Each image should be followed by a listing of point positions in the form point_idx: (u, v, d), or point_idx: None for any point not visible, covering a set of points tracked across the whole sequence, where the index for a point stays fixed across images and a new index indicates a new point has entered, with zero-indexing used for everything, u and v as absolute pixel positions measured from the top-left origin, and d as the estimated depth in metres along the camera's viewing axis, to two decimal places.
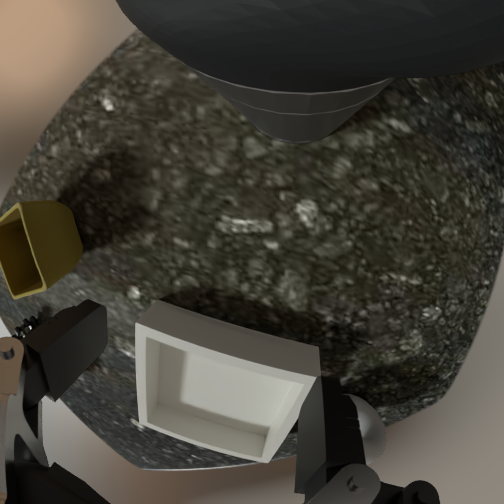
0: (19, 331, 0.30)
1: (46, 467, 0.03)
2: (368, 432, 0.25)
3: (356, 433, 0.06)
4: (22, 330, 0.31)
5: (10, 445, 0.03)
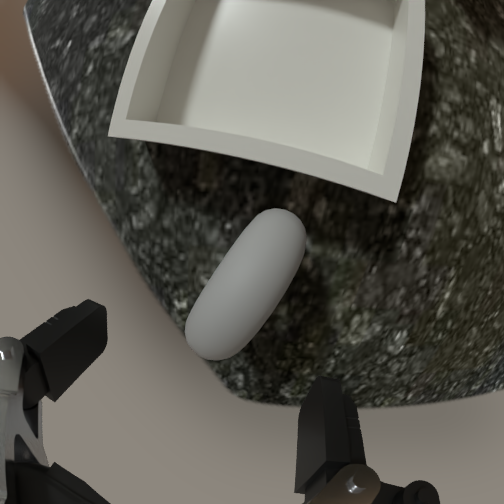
0: None
1: (46, 467, 0.03)
2: None
3: (356, 433, 0.06)
4: None
5: (10, 445, 0.03)
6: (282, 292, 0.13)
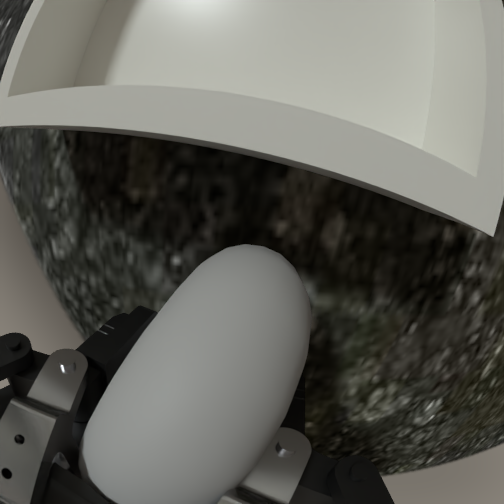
0: None
1: (83, 492, 0.03)
2: None
3: (299, 403, 0.07)
4: None
5: (47, 465, 0.03)
6: None
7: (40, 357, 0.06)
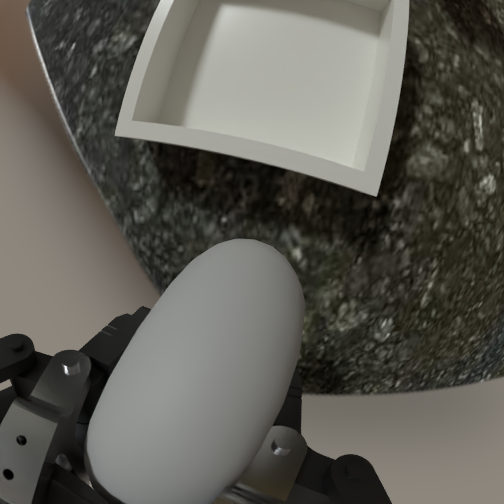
0: None
1: (84, 494, 0.03)
2: None
3: (296, 402, 0.07)
4: None
5: (49, 466, 0.03)
6: (245, 466, 0.04)
7: (43, 358, 0.06)
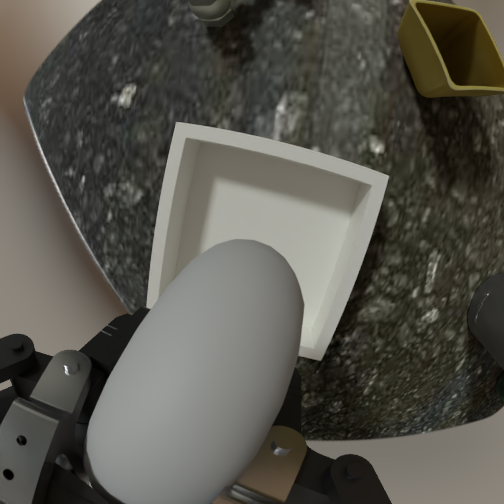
0: None
1: (85, 494, 0.03)
2: None
3: (295, 402, 0.07)
4: None
5: (49, 466, 0.03)
6: (245, 467, 0.04)
7: (43, 358, 0.06)
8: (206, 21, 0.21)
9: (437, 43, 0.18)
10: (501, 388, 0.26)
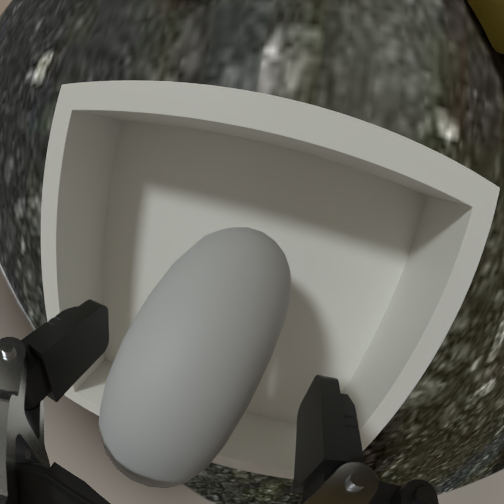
0: None
1: (47, 468, 0.03)
2: None
3: (354, 432, 0.06)
4: None
5: (11, 445, 0.03)
6: (237, 415, 0.05)
7: None
8: None
9: None
10: None
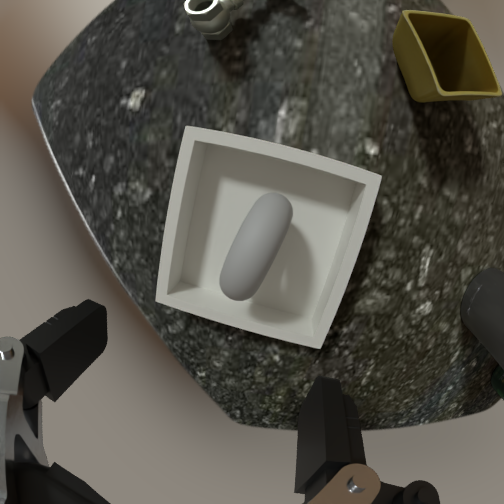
0: None
1: (46, 467, 0.03)
2: None
3: (356, 433, 0.06)
4: None
5: (10, 445, 0.03)
6: (280, 240, 0.20)
7: None
8: (206, 34, 0.23)
9: (430, 49, 0.20)
10: (496, 381, 0.28)
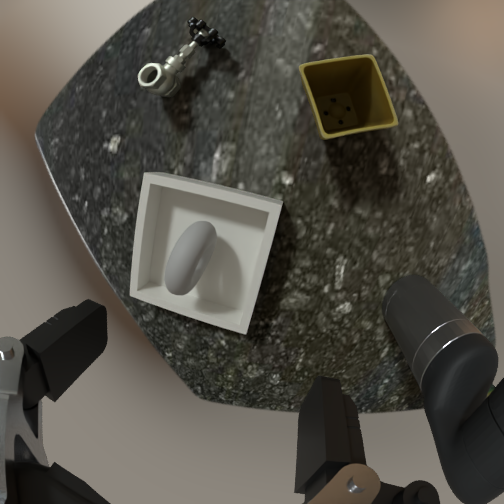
0: (212, 36, 0.27)
1: (46, 467, 0.03)
2: None
3: (356, 433, 0.06)
4: (212, 36, 0.28)
5: (10, 445, 0.03)
6: (198, 255, 0.30)
7: None
8: (160, 94, 0.34)
9: (346, 85, 0.30)
10: None
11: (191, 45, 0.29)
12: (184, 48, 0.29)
